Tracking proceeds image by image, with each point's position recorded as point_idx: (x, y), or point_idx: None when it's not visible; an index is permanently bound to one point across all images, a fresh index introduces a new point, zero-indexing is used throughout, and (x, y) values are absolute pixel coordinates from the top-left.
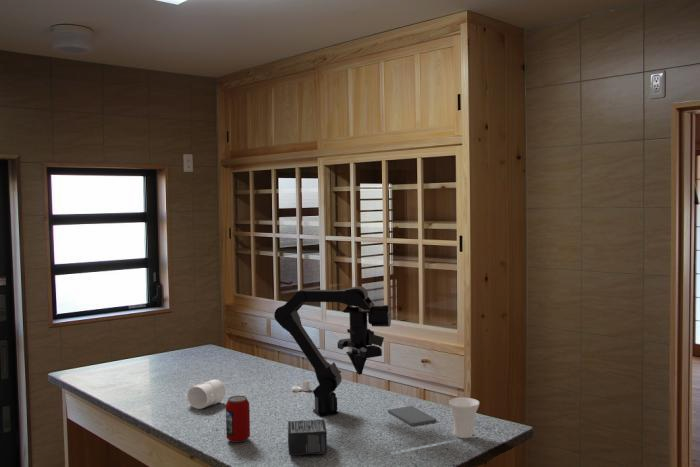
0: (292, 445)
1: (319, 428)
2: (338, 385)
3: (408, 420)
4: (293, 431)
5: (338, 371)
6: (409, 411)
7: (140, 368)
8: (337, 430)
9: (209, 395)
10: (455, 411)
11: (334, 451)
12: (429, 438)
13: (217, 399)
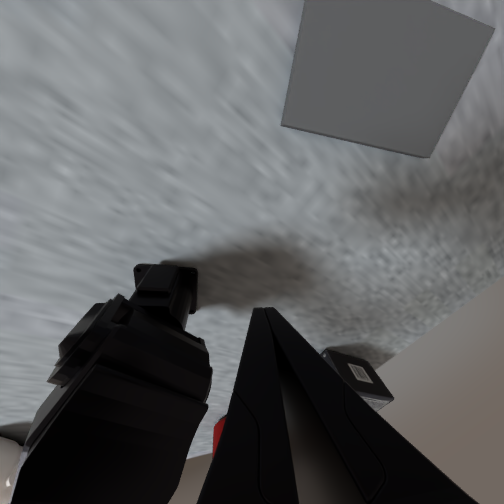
0: None
1: (376, 403)
2: (164, 325)
3: (409, 144)
4: None
5: (113, 394)
6: (360, 53)
7: None
8: (300, 315)
9: None
10: None
11: (367, 349)
12: (498, 182)
13: (10, 454)
